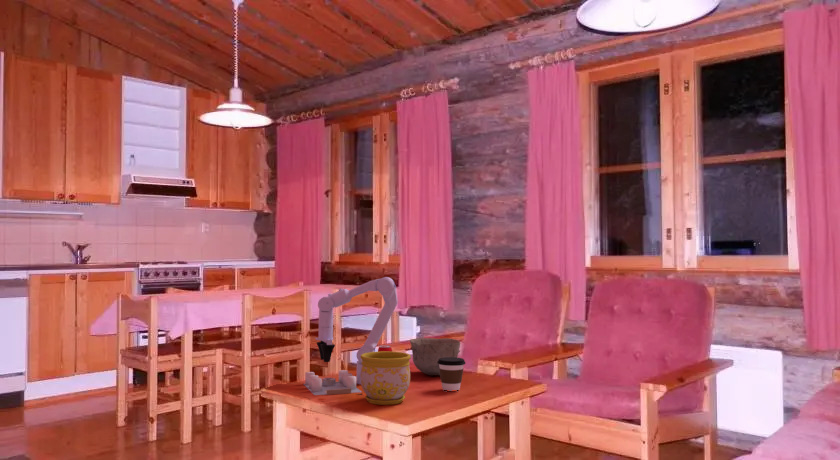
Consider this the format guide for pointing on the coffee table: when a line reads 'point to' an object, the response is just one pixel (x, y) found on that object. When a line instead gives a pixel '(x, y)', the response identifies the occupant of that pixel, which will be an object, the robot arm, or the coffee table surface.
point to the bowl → (432, 353)
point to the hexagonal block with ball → (328, 382)
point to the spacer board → (342, 387)
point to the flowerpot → (385, 376)
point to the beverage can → (384, 348)
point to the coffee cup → (451, 372)
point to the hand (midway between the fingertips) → (325, 360)
